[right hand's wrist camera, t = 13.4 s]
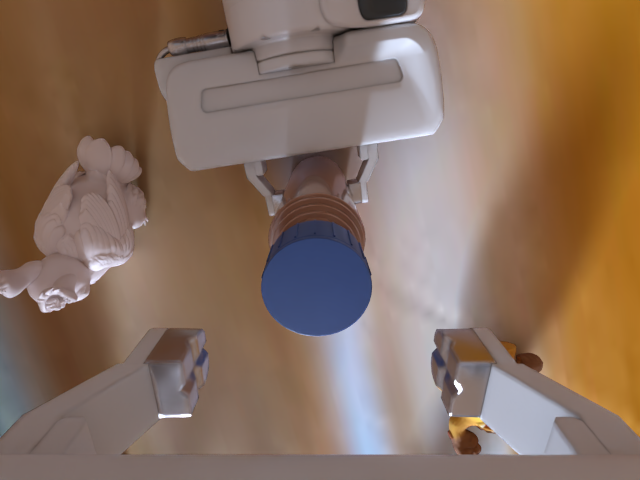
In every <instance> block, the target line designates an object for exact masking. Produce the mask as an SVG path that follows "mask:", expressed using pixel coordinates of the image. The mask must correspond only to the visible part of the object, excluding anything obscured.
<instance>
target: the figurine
mask: <svg viewBox="0 0 640 480" xmlns="http://www.w3.org/2000/svg"><path fill="white" fill-rule="evenodd" d="M77 157H78V161H75V162H74V163H72V164H71V165H70V166H69V167H68V168H67V169H66V170H65V172H64V173H63V174H62V176H61V177H60V178H59V180H58V181H57V182H56V184H55V185H54V187H53V189H52V191H51V193H50V195H49V197H48V199H47V200H46V202H45V204H44V206H43V208H42V210H41V212H40V213H39V215H38V218H37V220H36V222H35V232H34V236H33V238H34V241H35V243H36V245H37V247H38V249H39V250H40V251H41V252H42V253H43V254H44V255H46V257H45V258H44V259H42V260H41V261H39V260H37V261H30V262H27V263H25V264H24V265H22V266H21V267H19V268H17V269H11V270H0V294H3V295H4V296H5V297H7V298H12V297H15V296H17V295H18V294H20V293H21V292H22V291H23V290H24V289H25V288H27V290H28V293H29V295H30V296H31V297H32V298H33V299H34V300H35V301H36V302H37V303H38V305H39V309H40V311H41V312H51V311H53V310H60V309H61V308H64V307H65V303H68V304H69V303H72V302H76V301H80V300H82V299H84V298H85V297H86V296H88V295H89V293H90V284H94V283H95V282H96V281H97V280H98V279H100V277H101V276H102V275H103V274H104V273H105V272H106V271H107V270H108V269H109V268H110V267H113V266H119V265H121V264H124V263H125V262H126V261H127V260H128V259H129V258H130V257H131V256H132V254H133V251H134V231H133V229H136V228H138V227H140V226H142V224H143V223H144V225H145V226H146V221H147V222H148V218H147V217H146V212H145V209H146V207H147V206H146V200H145V198H144V193H143V191H141V189H140V188H139V187H137V186H135V185H133V184H132V183H131V182H130V181H133V180H134V179H136V178H137V177H139V176H140V174H141V173H142V168H141V167H139V162H138V160H137V159H136V158H133V156H132V154H131V153H130V152H129V151H126V150H124V148H123V147H122V146H120V145H117V146H113V147H111V148H110V146H109V144H108V142H107V141H106V140H105V139H104V138H98V139H96V140H94V139H93V138H92V137H91V136H85V137H84V138H83V139H82V140H81V141H80V143H79V145H78V147H77ZM79 163H80V165H81V166H82V167H83V169H84V170H85V171H83V172H81V171H79V172H77V170H78V166H79ZM145 220H146V221H145Z"/></svg>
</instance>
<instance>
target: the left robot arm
mask: <svg viewBox="0 0 640 480" xmlns="http://www.w3.org/2000/svg"><path fill="white" fill-rule="evenodd" d="M222 3H223V8H224V13H225V18H226V22H227V26H228V28H227V29H226V30H219V31H215V32H209V33H205V34H201V35H198V36H196V37H190V38H186V37H179V38H175V39H172V40H170V41H168V43H167V47H165V48H164V49H162V50H161V51H160V52H159V54H158V56H157V58H156V61H155V63H154V69H155V74H156V77H157V81H158V85H159V88H160V91H161V93H162V95H163V97H164V99H165V100H166V101H167V108H168V116H169V123H170V129H171V135H172V140H173V144H174V149H175V153H176V156H177V159H178V160H179V162H180V163H182V164H183V165H184V166H185V167H186V168H187V169H189V170H190V171H198V170H204V169H211V168H217V167H224V166H230V165H237V164H243V163H244V167H245V172H246V176H247V179H248V180H249V181H250V182H251V183H252V184H253V185H254V186H255V188H256V189H257V190H258V191H259V192H260V193H261V194H262V195H263V196H265V198H266V203H267V208H268V212H269V215H270V216H274V215H275V213H276V211H277V208H278V206H279V203H280V201H281V198H282V196H283V194H284V191H285V190H277V191H275V189H274V188H273V187H272V185H271V184H270V183H269V182H268V181H267V179H266V178H265V177H264V176H263V174H264V173H265V172H266V171H267V165H266V160H270V159H276V158H283V157H289V156H296V155H302V154H309V153H315V152H322V151H328V150H335V149H341V148H348V147H355V146H357V152H358V156H359V157H360V159H362V160H364V161H363V163H362V165H361V168H360V170H359V173H358V175H357V177H356V178H357V179H351V180H347V185H348V188H349V190H350V193H351V195H352V198H353V200H354V203H355V204H358V203H365V202H368V190H367V181H368V180H369V178H370V176H371V174H372V172H373V169H374V167H375V165H376V163H377V161H378V159H379V156H378V144H377V143H381V142H387V141H394V140H400V139H407V138H413V137H420V136H426V135H432V134H434V133H435V132H436V130H437V129H438V127H439V126H440V124H441V122H442V121H443V118H444V97H443V85H442V77H441V69H440V63H439V57H438V52H437V48H436V45H435V42H434V39H433V37H432V36H431V34H430V33H429V32H428V30H427V29H425V28H424V27H423V26H421V25H419V24H416V23H415V22H416V21H417V20H418V18H419V17H420V15H421V14H422V12H423V10H424V5H425V0H222ZM231 47H232V48H231ZM199 51H200V52H199ZM201 51H202V52H201ZM194 52H196V53H194ZM168 53H170V54H171V55H172V56H173V57H167V58H164V57H165V56H166V55H167V54H168Z"/></svg>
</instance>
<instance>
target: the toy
mask: <svg viewBox="0 0 640 480" xmlns="http://www.w3.org/2000/svg"><path fill="white" fill-rule="evenodd" d="M500 342H501V344H502V345H503V346H504V347H505V349H506V350H507V351H508V353H509V354H510V355H511V356H512V358H513V359H514V357H515V354H516V345H514V344H512V343H508V342H503V341H500ZM516 363H517V364H524V365H526V366H528V367H529V368H531V369H533V370H535V371H537V372H540V371H541V370H542V366H543V362H542V360H541V359H540V358H539V357H538V356H537V355H535V354H532V353H523V354H518V355H517V356H516ZM435 385H436V384H435ZM438 388H439V387H438ZM439 389H440V388H439ZM440 390H441V389H440ZM470 426H477V427H478V428H479V429H480V430H485V431H486V432H488V433H495V432H494V431H493V430H492V429H491V428H490V427H488V426H487V425H486V424H485V423H484V422H483V421H482V420H481V419H480V418H478V417H450V419H449V431H448V435H449V437H450V439H451V440H452V444H453V447H454V450H455V451H456V453H457V454H458V455H478V454H479V453H480V451H481V446H480V445H479V443H478V438H477V436H476V435H475V434H474V433H473V432H471V431H469V430H467V429H466V428H468V427H470Z"/></svg>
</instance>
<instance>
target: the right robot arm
mask: <svg viewBox="0 0 640 480" xmlns="http://www.w3.org/2000/svg"><path fill="white" fill-rule="evenodd" d="M205 342H206V336H205V331H204V330H203V329H190V328H152V329H150V330H149V331H148V332H147V333H146V334H145V336H144V337H143V338H142V340H141V341H140V342H139V344H138V345H137V346H136V347H135V349H134V350H133V351H132V353H131V354H130V355H129V356H128V358H127V359H126V360H125V362H124V363H123V364H116V365H114V366H112V367H111V368H109V369H107V370H105V371H103V372H101V373H99V374H98V375H96V376H94V377H92V378H90V379H88V380H87V381H85V382H83V383H81V384H79V385H77V386H75V387H74V388H72V389H70V390H68V391H66V392H64V393H63V394H61V395H59V396H57V397H55V398H53V399H51V400H50V401H48V402H46V403H44V404H42V405H40V406H39V407H37V408H35V409H33V410H31V411H29V412H27V413H26V414H24V415H22V416H21V417H20V418H19V419H18V420H17V421H16V422H15V423H14V424H13V425H12V426H11V427H10V429H9V430H8V431H7V432H6V433H5V434H4V435H3V436H2V437H1V438H0V480H640V438H639V437H638V436H637V435H636V434H635V432H634V431H633V430H632V429H631V428H630V427H629V426H628V425H627V424H626V423H625V422H624V421H623V420H622V419H621V418H620V417H619V416H618V415H616V414H614V413H612V412H610V411H609V410H607V409H605V408H603V407H601V406H599V405H598V404H596V403H594V402H592V401H590V400H588V399H586V398H585V397H583V396H581V395H579V394H577V393H575V392H574V391H572V390H570V389H568V388H566V387H564V386H563V385H561V384H559V383H557V382H555V381H553V380H552V379H550V378H548V377H546V376H544V375H542V374H540V373H539V372H537V371H535V370H533V369H531V368H529V367H528V366H526V365H524V364H517V363H516V362H515V360H514V359H513V358H512V356H511V355H510V354H509V353H508V351H507V350H506V349H505V347H504V346H503V345H502V344H501V342H500V341H499V340H498V338H497V337H496V336H495V335H494V333H493V332H492V331H491V330H490V329H488V328H470V329H437V330H436V332H435V336H434V342H435V345H436V347H437V348H436V349H435V350H434V352H433V353H432V358H431V369H432V375H433V379H434V382H435V384H436V386H437V387H439V388H440V389H441V390H442V395H441V399H442V401H443V403H444V406H445V408H446V410H447V413H448V415H449V417H478V418H480V419H481V420H482V421H483V422H484V423H485V424H486V425H487V426H488V427H490V428H491V429H492V430H493V431H494V432H495V433H496V434H497V435H498V436H499V437H501V438H502V439H503V440H504V441H505V442H506V443H507V444H508V445H509V446H511V447H512V448H513V449H514V450H515V451H516V452H517V453H518V454H519V455H296V454H247V455H121V454H122V453H123V452H124V451H125V450H126V449H127V448H128V447H130V446H131V445H132V444H133V443H134V442H135V441H136V440H137V439H138V438H140V437H141V436H142V435H143V434H144V433H145V432H146V431H147V430H148V429H150V428H151V427H152V426H153V425H154V424H155V423H156V422H157V421H158V420H160V418H162V417H191V415H192V413H193V410H194V408H195V406H196V403H197V401H198V399H199V395H198V390H199V389H200V388H201V387H203V386H204V384H205V382H206V379H207V375H208V370H209V357H208V353H207V352H206V350H205V349H204V348H203V347H204V345H205Z"/></svg>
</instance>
